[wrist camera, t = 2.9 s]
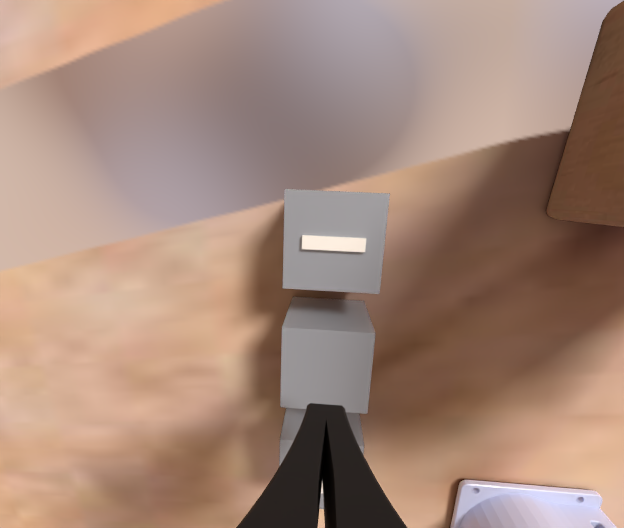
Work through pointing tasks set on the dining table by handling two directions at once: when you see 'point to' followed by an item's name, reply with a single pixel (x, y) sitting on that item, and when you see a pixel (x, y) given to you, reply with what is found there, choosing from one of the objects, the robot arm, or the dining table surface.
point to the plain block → (327, 354)
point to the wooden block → (596, 138)
